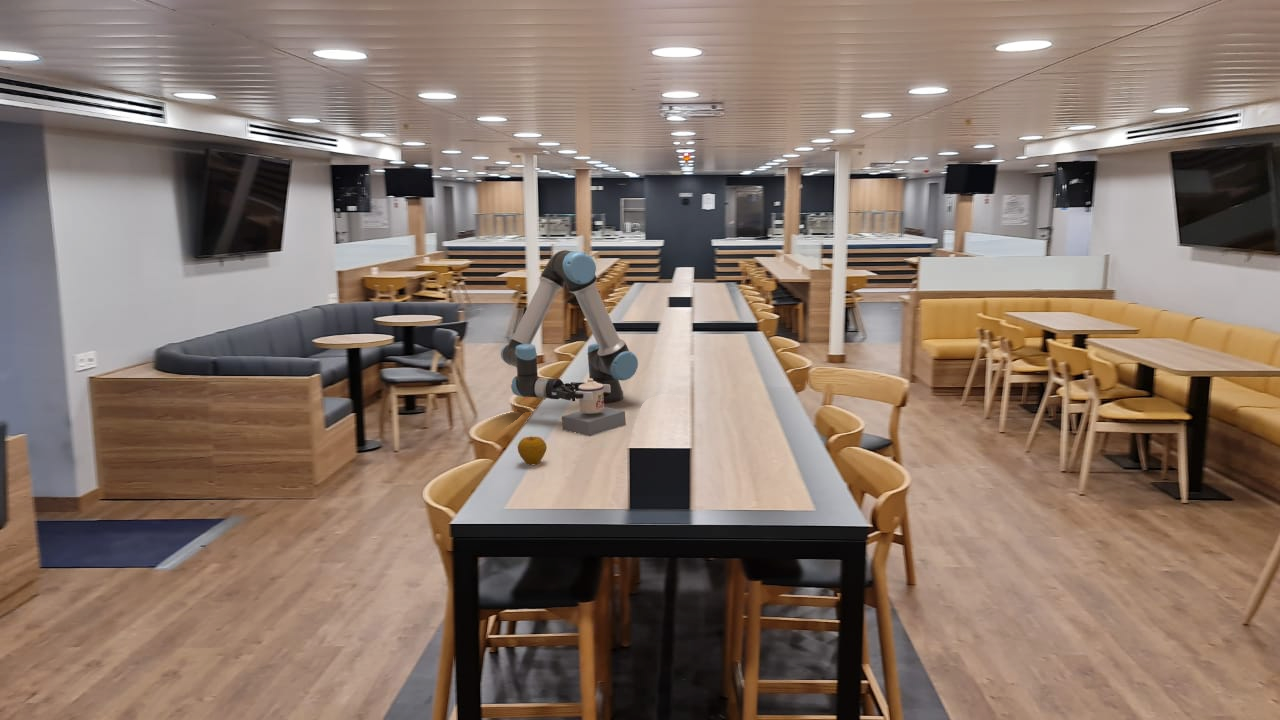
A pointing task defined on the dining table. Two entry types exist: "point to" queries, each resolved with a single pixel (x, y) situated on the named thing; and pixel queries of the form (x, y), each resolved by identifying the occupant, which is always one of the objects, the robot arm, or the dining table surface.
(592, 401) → the teacup with lid
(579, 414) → the charcoal rectangular block
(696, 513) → the dining table surface
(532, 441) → the apple
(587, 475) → the dining table surface
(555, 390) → the robot arm
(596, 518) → the dining table surface
